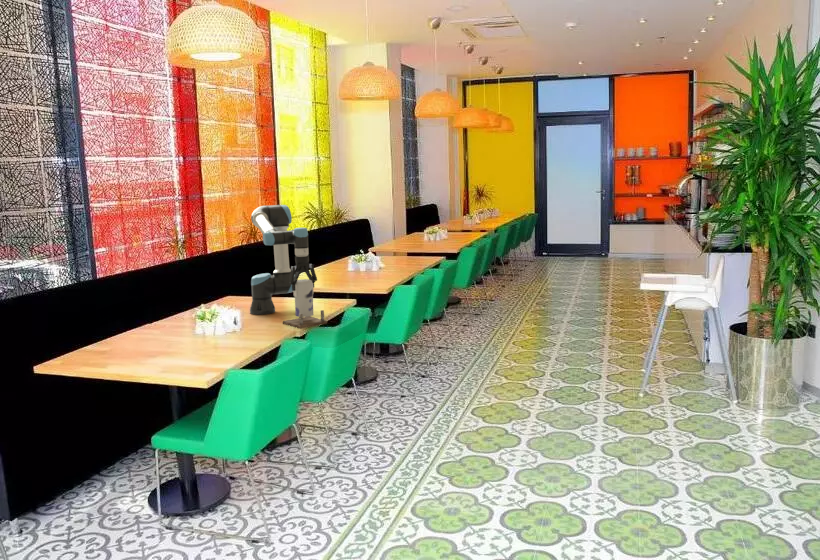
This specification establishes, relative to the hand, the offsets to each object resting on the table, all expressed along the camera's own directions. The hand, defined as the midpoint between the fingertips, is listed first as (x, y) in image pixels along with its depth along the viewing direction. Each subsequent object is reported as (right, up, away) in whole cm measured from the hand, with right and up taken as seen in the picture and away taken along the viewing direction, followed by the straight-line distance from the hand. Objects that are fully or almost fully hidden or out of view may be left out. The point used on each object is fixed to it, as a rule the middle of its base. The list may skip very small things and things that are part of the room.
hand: (303, 295), depth 410 cm
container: (0, -12, +2) cm, 12 cm away
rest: (0, -16, +3) cm, 16 cm away
